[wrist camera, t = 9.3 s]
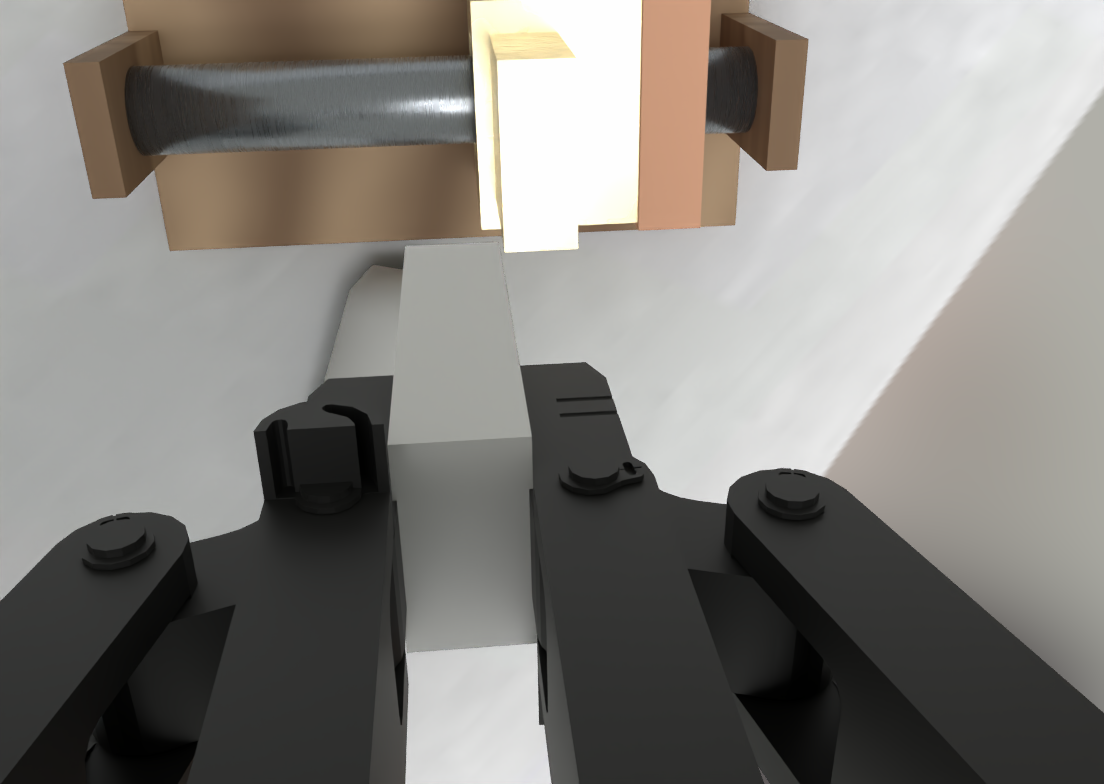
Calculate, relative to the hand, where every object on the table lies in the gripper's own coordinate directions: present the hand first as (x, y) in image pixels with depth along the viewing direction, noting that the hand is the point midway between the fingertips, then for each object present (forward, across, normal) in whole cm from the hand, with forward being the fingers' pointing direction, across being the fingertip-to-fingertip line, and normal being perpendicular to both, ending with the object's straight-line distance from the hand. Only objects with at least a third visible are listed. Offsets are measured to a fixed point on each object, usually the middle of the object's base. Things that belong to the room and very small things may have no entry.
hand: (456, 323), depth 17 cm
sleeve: (+23, +3, 0) cm, 23 cm away
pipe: (+21, 0, 0) cm, 21 cm away
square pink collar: (+23, +7, 0) cm, 24 cm away
